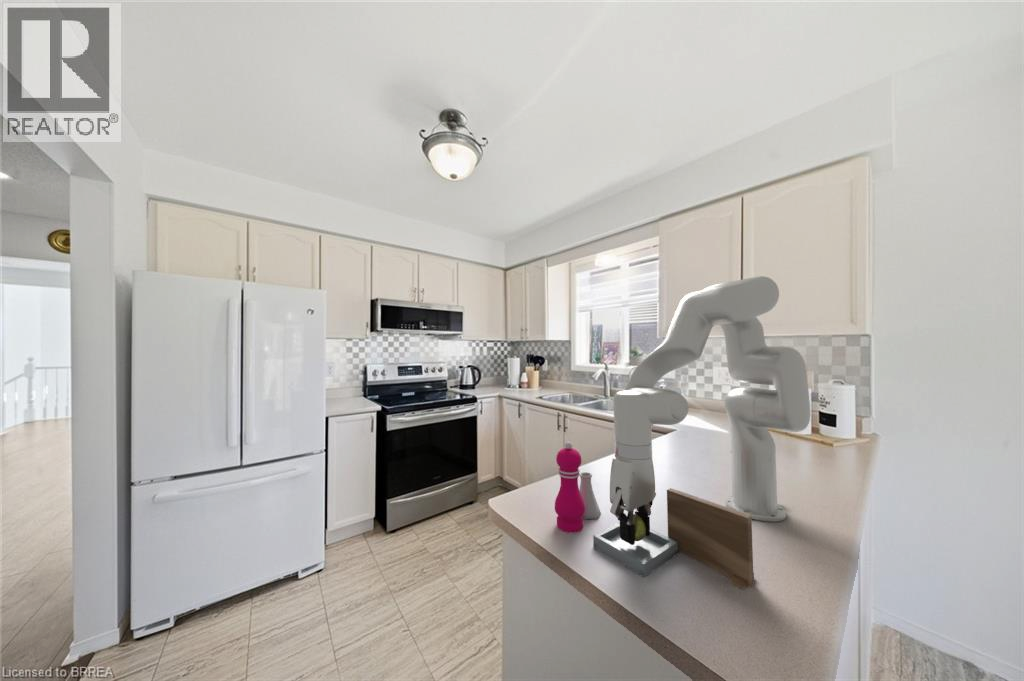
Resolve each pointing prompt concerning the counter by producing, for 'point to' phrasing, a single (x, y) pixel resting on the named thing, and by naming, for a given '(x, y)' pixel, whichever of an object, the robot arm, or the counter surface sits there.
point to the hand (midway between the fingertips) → (635, 536)
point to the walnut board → (712, 535)
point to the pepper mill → (569, 491)
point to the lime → (639, 527)
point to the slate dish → (636, 549)
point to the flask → (588, 497)
